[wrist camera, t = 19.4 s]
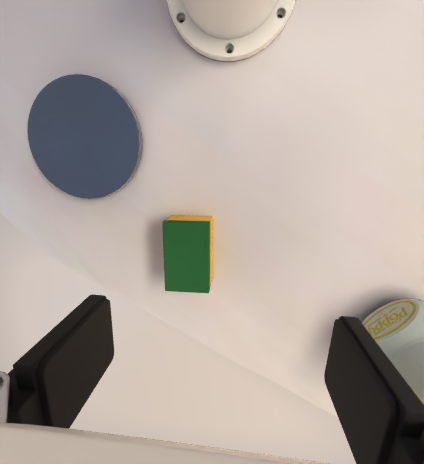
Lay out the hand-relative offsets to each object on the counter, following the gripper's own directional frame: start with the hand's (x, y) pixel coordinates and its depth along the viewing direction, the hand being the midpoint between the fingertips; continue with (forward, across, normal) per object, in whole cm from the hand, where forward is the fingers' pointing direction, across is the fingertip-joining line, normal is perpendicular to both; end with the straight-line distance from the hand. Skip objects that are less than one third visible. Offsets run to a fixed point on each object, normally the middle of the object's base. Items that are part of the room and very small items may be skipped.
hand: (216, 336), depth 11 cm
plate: (+21, +17, -8) cm, 28 cm away
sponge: (+21, +5, +4) cm, 22 cm away
